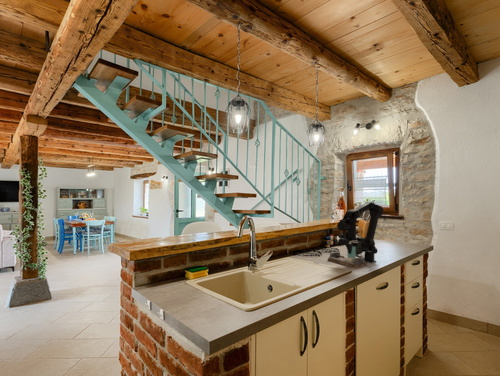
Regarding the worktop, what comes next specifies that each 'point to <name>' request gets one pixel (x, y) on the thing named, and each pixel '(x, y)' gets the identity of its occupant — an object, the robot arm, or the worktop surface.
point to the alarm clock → (358, 249)
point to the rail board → (340, 260)
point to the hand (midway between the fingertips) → (351, 253)
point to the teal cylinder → (351, 255)
